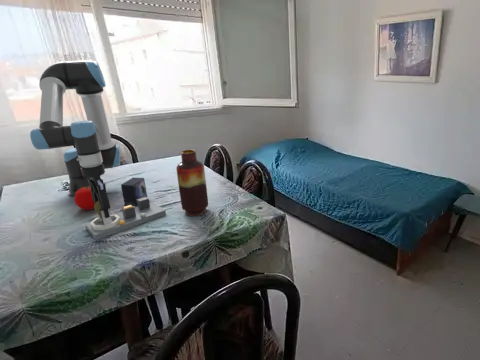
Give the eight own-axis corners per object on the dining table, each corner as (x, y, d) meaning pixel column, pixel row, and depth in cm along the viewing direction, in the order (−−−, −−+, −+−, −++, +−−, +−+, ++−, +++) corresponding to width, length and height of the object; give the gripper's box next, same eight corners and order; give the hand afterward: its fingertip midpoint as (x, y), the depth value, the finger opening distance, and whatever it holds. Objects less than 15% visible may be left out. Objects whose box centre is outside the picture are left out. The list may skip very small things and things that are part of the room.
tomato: (72, 212, 133) (66, 190, 130) (93, 201, 144) (88, 180, 141) (91, 214, 130) (85, 192, 126) (111, 203, 140) (106, 182, 137)
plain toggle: (138, 207, 128) (136, 199, 126) (147, 204, 130) (145, 196, 129) (141, 209, 125) (139, 201, 124) (150, 206, 128) (148, 198, 127)
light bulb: (101, 221, 118) (95, 197, 115) (116, 219, 118) (110, 196, 115) (96, 227, 113) (90, 203, 109) (111, 226, 113) (105, 202, 110)
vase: (213, 207, 128) (207, 148, 119) (202, 218, 118) (194, 155, 110) (190, 205, 132) (182, 147, 123) (177, 216, 122) (168, 154, 113)
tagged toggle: (123, 216, 120) (121, 207, 118) (133, 213, 122) (131, 204, 121) (126, 219, 118) (124, 209, 116) (136, 215, 120) (134, 206, 118)
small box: (137, 206, 134) (132, 185, 131) (124, 206, 136) (119, 184, 132) (148, 197, 144) (144, 177, 141) (136, 197, 145) (132, 177, 142)
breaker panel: (86, 228, 117) (84, 220, 116) (152, 205, 134) (151, 198, 133) (96, 240, 108) (93, 231, 107) (166, 214, 124) (164, 206, 123)
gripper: (74, 162, 112) (88, 217, 120) (88, 172, 98) (103, 233, 106) (94, 158, 117) (107, 211, 124) (111, 166, 103) (124, 226, 111)
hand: (105, 221), depth 115 cm, fingers open, 6 cm apart
